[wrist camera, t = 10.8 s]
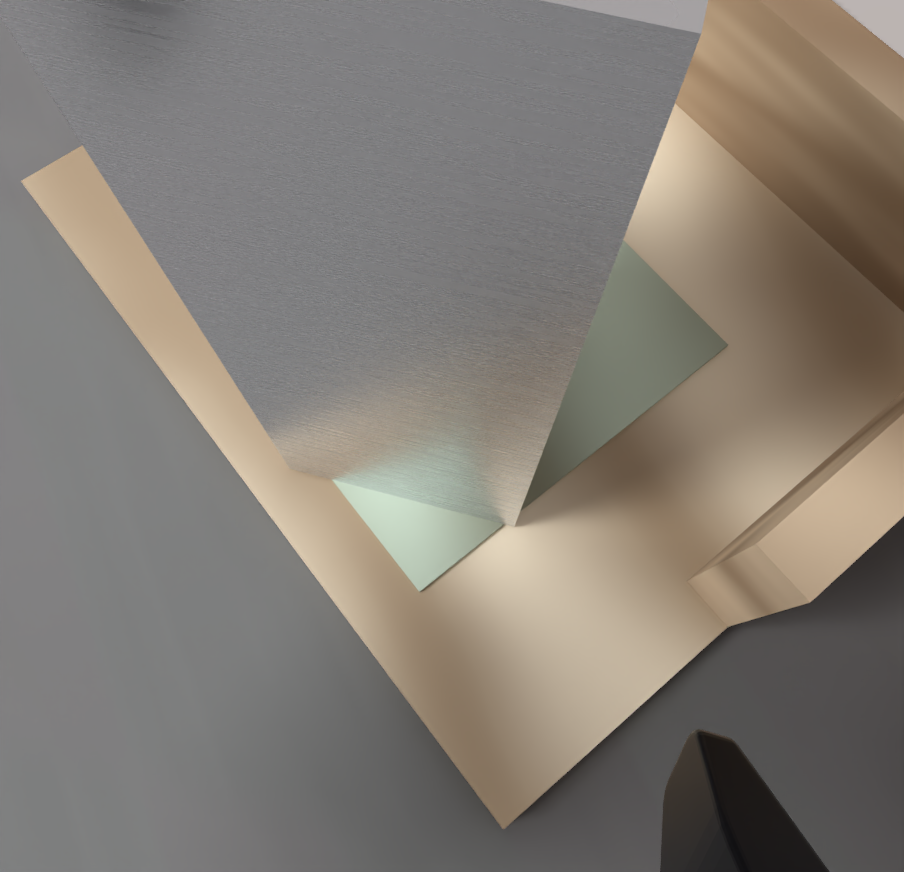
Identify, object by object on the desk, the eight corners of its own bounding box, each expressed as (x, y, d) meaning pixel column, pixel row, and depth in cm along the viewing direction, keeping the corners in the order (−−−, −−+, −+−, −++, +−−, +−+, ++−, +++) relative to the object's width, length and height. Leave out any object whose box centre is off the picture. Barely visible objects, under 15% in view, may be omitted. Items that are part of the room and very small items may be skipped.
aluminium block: (514, 526, 17) (700, 34, 5) (289, 468, 17) (-96, -131, 5) (563, 322, 18) (801, -453, 6) (356, 272, 19) (192, -551, 7)
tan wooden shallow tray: (501, 825, 16) (522, 868, 11) (32, 195, 20) (-77, 58, 16) (1005, 370, 19) (1168, 272, 15) (502, -82, 24) (515, -256, 19)
